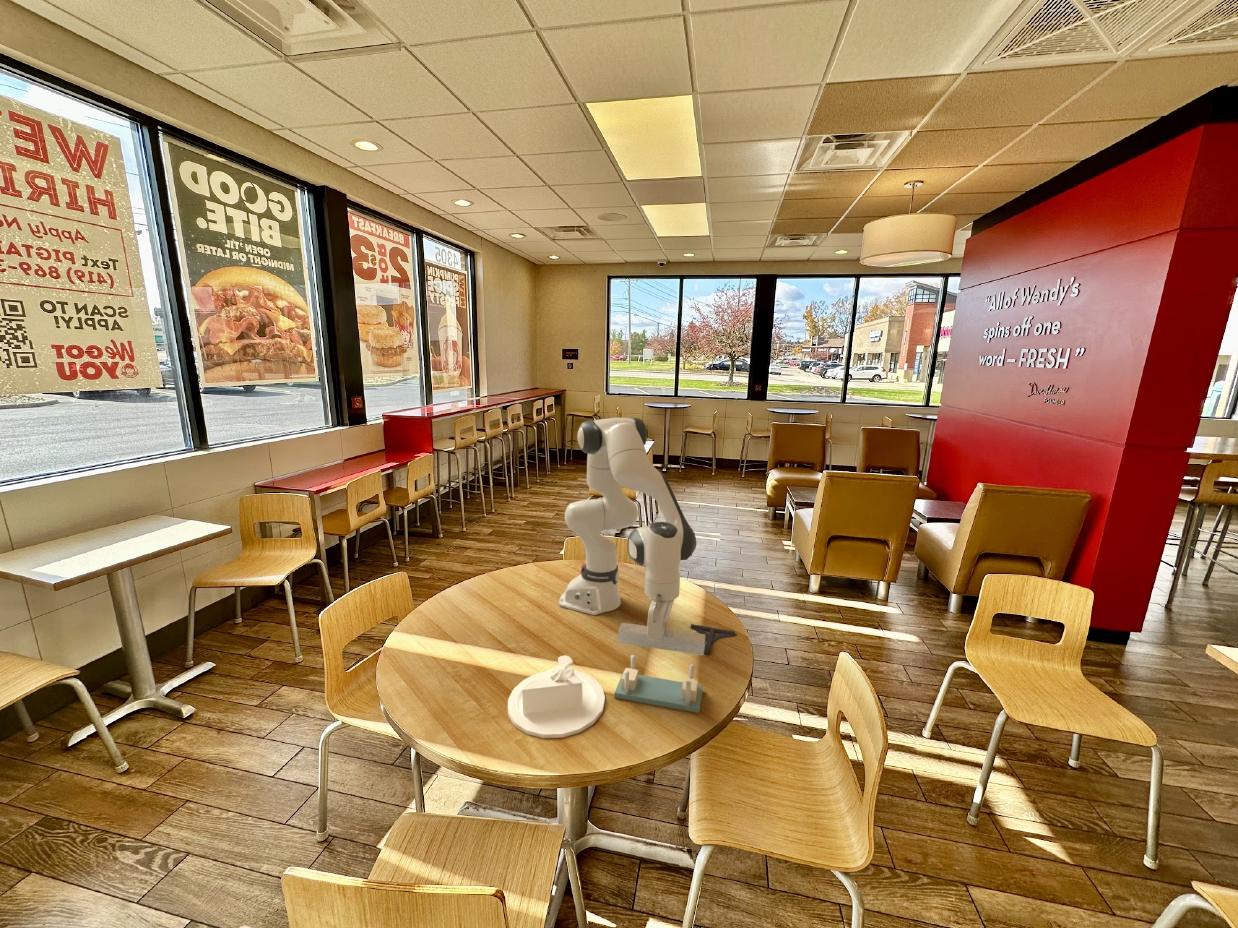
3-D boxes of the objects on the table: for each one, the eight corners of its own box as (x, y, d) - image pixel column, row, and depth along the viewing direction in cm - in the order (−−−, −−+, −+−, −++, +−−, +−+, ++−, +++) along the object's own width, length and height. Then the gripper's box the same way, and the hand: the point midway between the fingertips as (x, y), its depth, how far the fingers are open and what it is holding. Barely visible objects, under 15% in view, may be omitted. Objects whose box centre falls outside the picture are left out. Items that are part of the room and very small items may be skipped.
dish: (576, 663, 145) (576, 628, 142) (622, 714, 124) (623, 674, 122) (494, 692, 132) (492, 654, 129) (530, 755, 111) (529, 711, 109)
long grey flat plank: (618, 642, 129) (618, 630, 128) (621, 634, 133) (622, 622, 132) (703, 655, 123) (703, 642, 123) (704, 646, 127) (705, 634, 126)
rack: (614, 697, 130) (614, 672, 128) (622, 676, 138) (623, 652, 136) (699, 712, 124) (700, 686, 123) (702, 690, 133) (703, 665, 131)
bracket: (682, 651, 151) (682, 643, 151) (691, 627, 165) (691, 619, 164) (730, 661, 147) (730, 652, 146) (735, 635, 161) (735, 627, 160)
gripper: (667, 607, 114) (666, 661, 117) (679, 572, 133) (678, 618, 136) (641, 604, 116) (640, 657, 118) (656, 569, 135) (655, 615, 138)
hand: (660, 636), depth 128 cm, fingers closed on long grey flat plank, 4 cm apart
